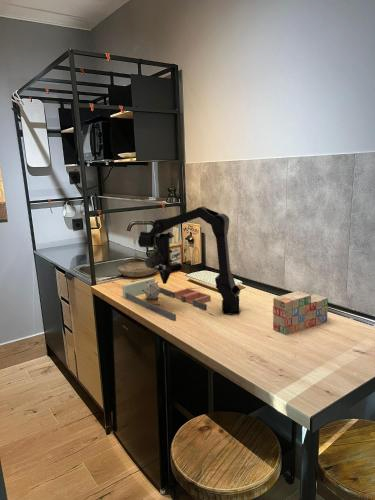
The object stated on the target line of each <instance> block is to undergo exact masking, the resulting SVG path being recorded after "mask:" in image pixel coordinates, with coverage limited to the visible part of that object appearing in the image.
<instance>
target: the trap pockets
mask: <svg viewBox="0 0 375 500" xmlns="http://www.w3.org/2000/svg"><path fill="white" fill-rule="evenodd" d="M173 292H174V293H175V298H174V299H177V300H180V301H181V296H185V299H186V302H185V303H187V304H190V305H192V306H193V300H196V301H199V302H201V303H204V304H206V303H207V302H211V300H212V299H211V295H210V294H207V293H205V292H201V291H199V290H195V289H193V288H189V287H187V288H183V289H180V290H176V291H173Z"/></svg>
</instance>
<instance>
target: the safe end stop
mask: <svg viewBox="0 0 375 500" xmlns="http://www.w3.org/2000/svg"><path fill="white" fill-rule="evenodd" d="M147 282H148V283H156V278H154V277H149V278H145V279H141V280H137V281H132V282H129V283H128V282H127V283H125V284H124V283H123V284H122V285H121V289H122V298H124V299H126V295H125V293H128V294H130V295H133V296H135V297H137V296H140V295H143V294H144V295H145V293H144V291H142V290H144V289H145V287H146V285H147Z"/></svg>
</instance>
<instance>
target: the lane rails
mask: <svg viewBox="0 0 375 500" xmlns="http://www.w3.org/2000/svg"><path fill="white" fill-rule="evenodd" d="M159 288H160V290H162V292H161V291H160V293H159V294H161V295H163V296H168V297H170V298H172V299H176V298H175V293H174V292H175V291H171V290H168V289H166V288H163V287H160V286H159ZM125 295H126V298H125V299H126V300H129V302H132V303H134V304H137V305H139V306H142V307H143V308H145V309H148V310H150V311H151V312H153V313H156V314H158V315H160V316H163V317H165V318H167V319H169V320H171V321H174V322H177V314H176V313H173V312H171V311H169V310H167V309H165V308H162V307H160V306H158V305H155V304H153V303H151V302H148V301H147V300H144V299H142V298H139V297H137V296H133V295H130V294H128V293H125ZM180 301H181V302H182V303H187V302H186V299H185V296H181V300H180ZM207 305H208V304H206V303H201V302H199V301H196V300H193V305H192V306H193V307H195V308H198V309H200V310H203V311H207V310H208V306H207Z"/></svg>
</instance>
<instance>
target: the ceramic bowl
mask: <svg viewBox="0 0 375 500" xmlns="http://www.w3.org/2000/svg"><path fill="white" fill-rule="evenodd" d="M117 271H118V272H119V273H120V275H123V276H125V277H129V278H142V277H146V276H150V275H152V274H154V273H155V272H158V271H157V270H156V269H154V268H153V269H150V268H147V266H146V264H145V261H136V262H135V261H134V262H128V263H124V264H121V265H120V266H118V267H117Z"/></svg>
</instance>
